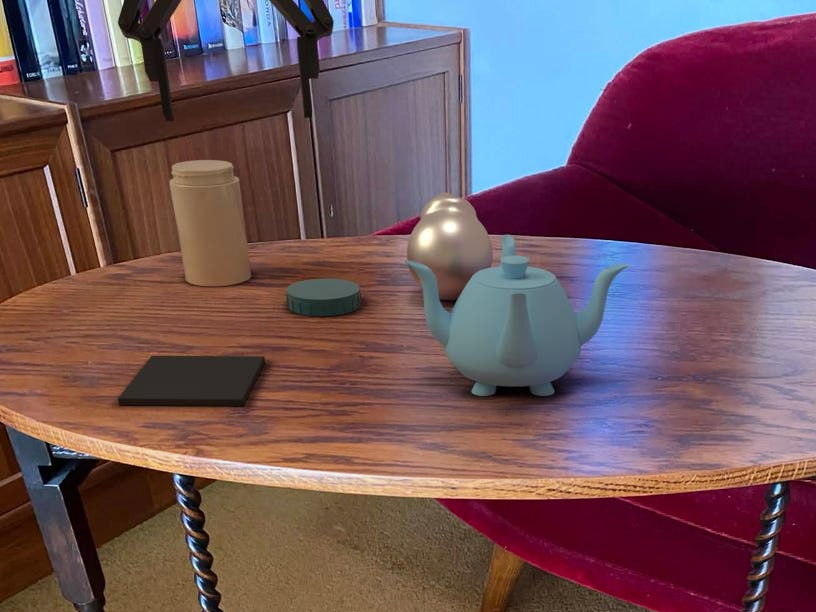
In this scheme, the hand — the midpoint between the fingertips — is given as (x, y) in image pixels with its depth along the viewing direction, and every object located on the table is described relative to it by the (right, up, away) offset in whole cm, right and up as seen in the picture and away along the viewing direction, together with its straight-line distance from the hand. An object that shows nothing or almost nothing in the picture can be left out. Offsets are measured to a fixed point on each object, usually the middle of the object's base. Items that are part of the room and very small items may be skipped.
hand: (239, 116), depth 95 cm
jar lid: (+8, -16, +3) cm, 19 cm away
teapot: (+27, -30, -13) cm, 42 cm away
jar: (-5, -12, +12) cm, 17 cm away
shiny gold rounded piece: (+21, -16, +6) cm, 27 cm away
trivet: (0, -30, -14) cm, 33 cm away
